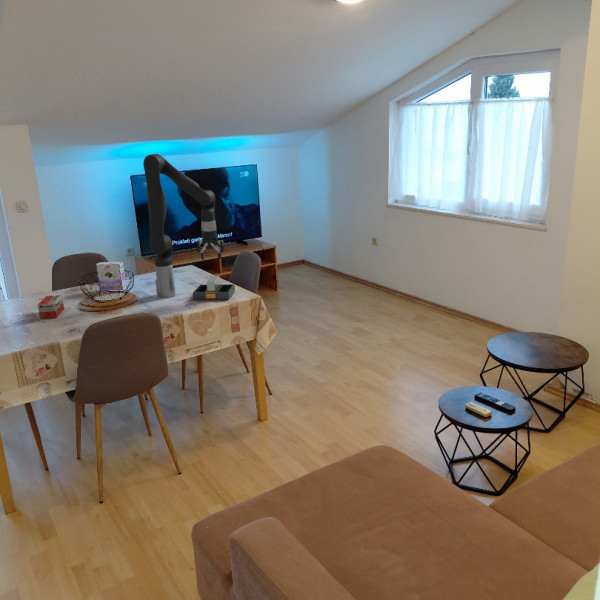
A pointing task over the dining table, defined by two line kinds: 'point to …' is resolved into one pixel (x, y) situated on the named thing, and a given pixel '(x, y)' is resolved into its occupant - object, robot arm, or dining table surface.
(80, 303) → the dining table surface
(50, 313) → the medicine box
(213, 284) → the grey-green rectangular block
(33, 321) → the dining table surface
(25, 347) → the dining table surface
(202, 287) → the rack
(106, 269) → the candy box
